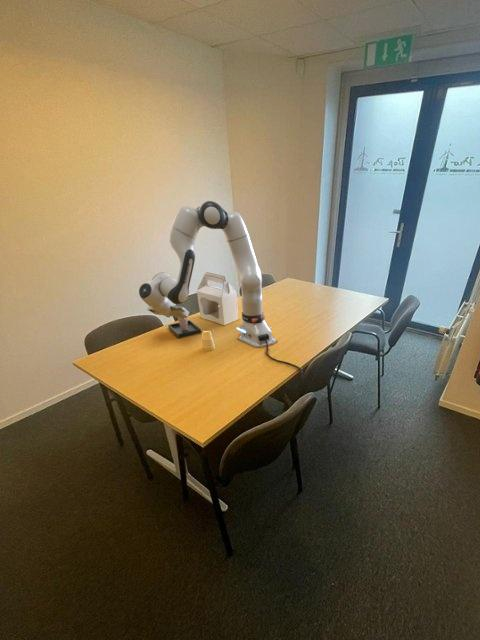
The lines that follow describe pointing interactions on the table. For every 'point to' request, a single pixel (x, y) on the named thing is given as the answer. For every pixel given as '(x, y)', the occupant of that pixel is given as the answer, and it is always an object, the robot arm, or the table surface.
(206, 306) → the gable box
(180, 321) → the smoothie
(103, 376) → the table surface
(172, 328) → the tray
